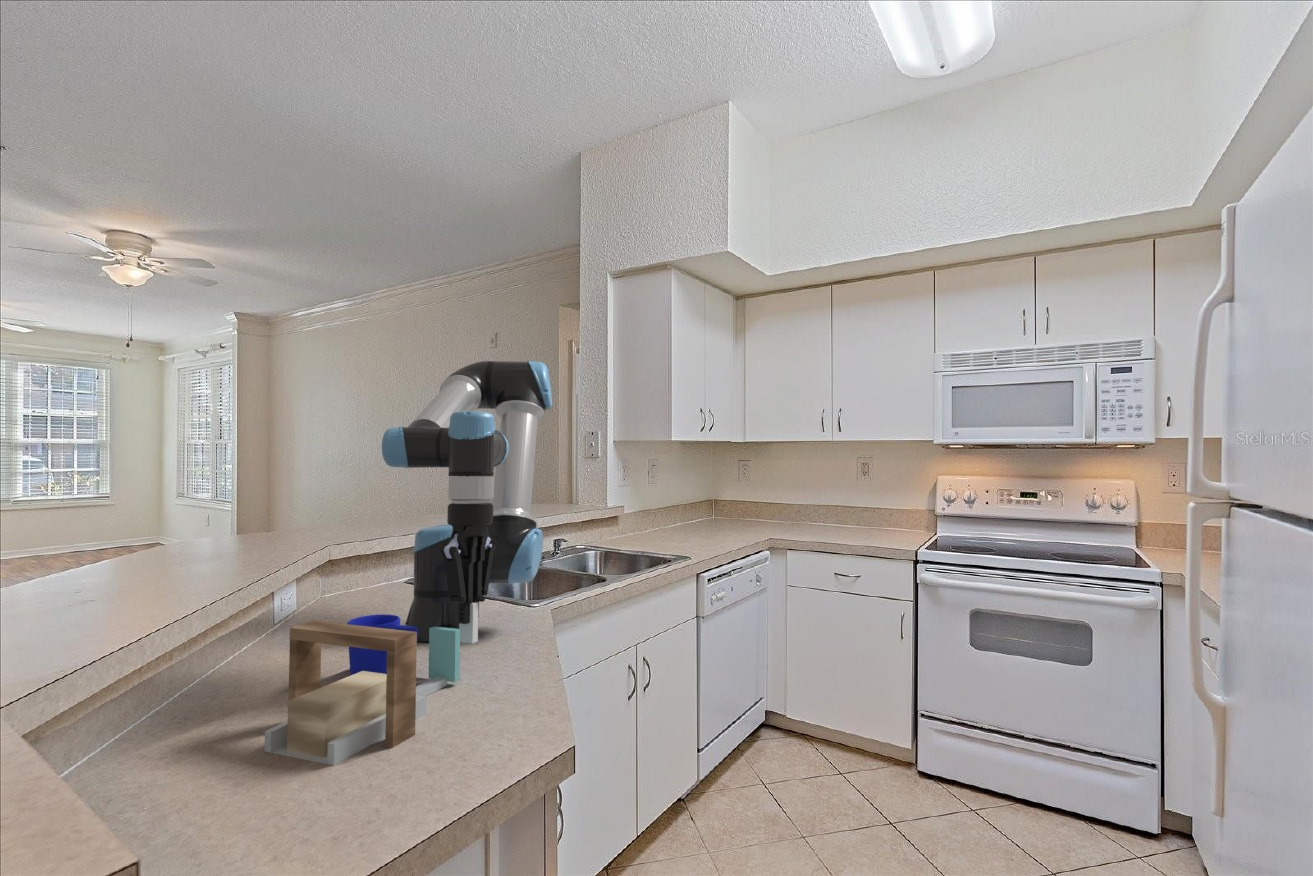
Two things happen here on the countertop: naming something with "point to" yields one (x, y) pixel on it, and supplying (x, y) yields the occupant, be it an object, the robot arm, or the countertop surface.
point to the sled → (440, 671)
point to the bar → (334, 711)
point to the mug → (369, 657)
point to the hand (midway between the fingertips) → (468, 641)
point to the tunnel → (393, 641)
